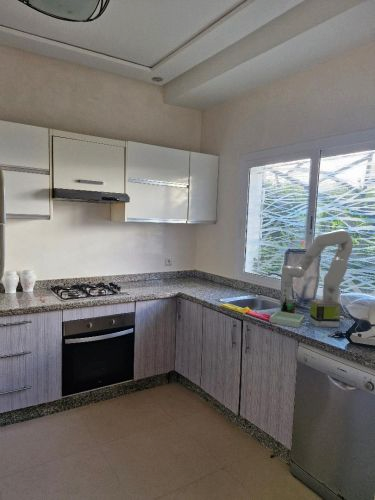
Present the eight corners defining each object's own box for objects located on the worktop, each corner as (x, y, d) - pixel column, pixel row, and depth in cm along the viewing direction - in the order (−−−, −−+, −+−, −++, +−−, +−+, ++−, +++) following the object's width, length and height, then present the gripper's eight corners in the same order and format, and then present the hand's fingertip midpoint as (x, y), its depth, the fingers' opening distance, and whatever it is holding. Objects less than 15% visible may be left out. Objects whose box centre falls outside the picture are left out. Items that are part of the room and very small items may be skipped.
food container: (275, 312, 242) (275, 297, 241) (280, 310, 246) (280, 296, 246) (291, 315, 233) (292, 300, 233) (296, 314, 238) (296, 299, 237)
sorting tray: (304, 320, 226) (304, 315, 226) (298, 327, 210) (299, 322, 210) (276, 316, 235) (277, 310, 234) (269, 322, 219) (269, 316, 219)
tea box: (332, 322, 225) (334, 300, 224) (339, 327, 215) (341, 304, 214) (309, 321, 224) (310, 299, 223) (315, 326, 214) (317, 303, 213)
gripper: (289, 286, 230) (288, 313, 231) (295, 282, 245) (294, 308, 246) (278, 285, 233) (277, 311, 235) (284, 281, 249) (283, 306, 250)
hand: (285, 309), depth 241 cm, fingers closed on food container, 5 cm apart
